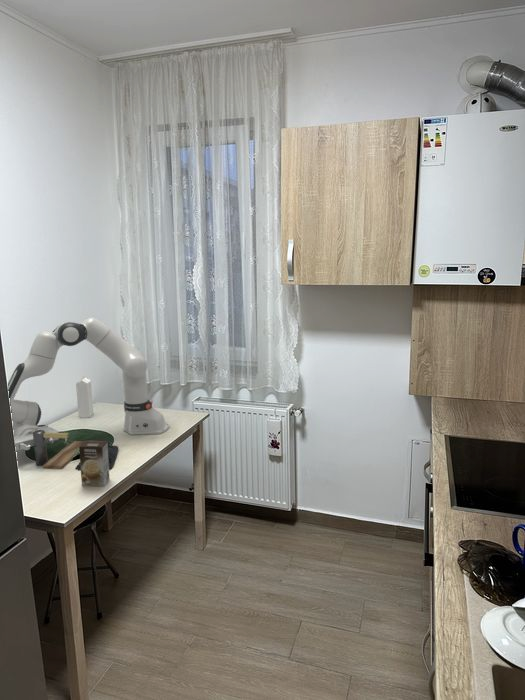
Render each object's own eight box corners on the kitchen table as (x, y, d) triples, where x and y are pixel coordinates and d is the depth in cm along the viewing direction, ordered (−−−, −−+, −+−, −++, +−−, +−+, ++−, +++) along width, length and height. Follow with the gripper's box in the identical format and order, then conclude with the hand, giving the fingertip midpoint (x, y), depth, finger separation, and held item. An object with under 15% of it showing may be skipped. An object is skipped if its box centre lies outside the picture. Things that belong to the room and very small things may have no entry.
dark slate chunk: (124, 450, 222) (123, 440, 221) (110, 472, 200) (110, 461, 199) (90, 450, 221) (89, 440, 220) (72, 472, 200) (71, 461, 199)
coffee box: (80, 486, 187) (77, 446, 184) (87, 478, 194) (84, 439, 190) (104, 486, 187) (101, 446, 184) (110, 478, 193) (107, 440, 190)
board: (89, 444, 227) (89, 441, 227) (61, 468, 202) (61, 465, 202) (73, 443, 228) (72, 440, 228) (43, 468, 203) (42, 465, 202)
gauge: (72, 462, 208) (70, 430, 205) (67, 467, 204) (64, 435, 201) (39, 460, 210) (36, 429, 207) (33, 465, 205) (30, 433, 202)
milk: (78, 417, 262) (75, 377, 258) (82, 414, 268) (79, 374, 264) (90, 417, 262) (86, 377, 258) (93, 413, 268) (90, 374, 264)
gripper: (1, 435, 207) (12, 444, 197) (50, 423, 221) (63, 431, 211) (3, 449, 208) (14, 459, 199) (51, 436, 222) (64, 445, 213)
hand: (40, 444), depth 205 cm, fingers open, 8 cm apart
